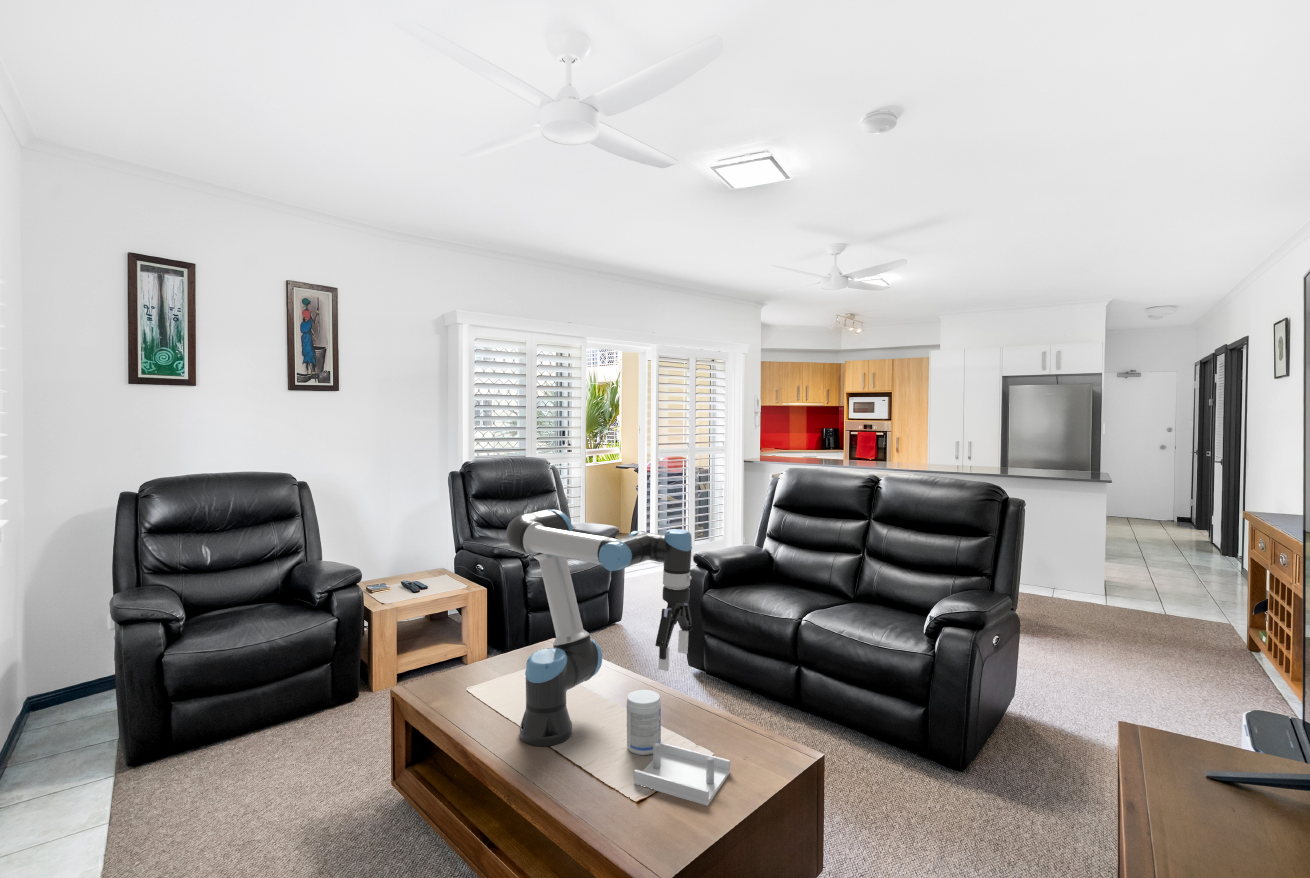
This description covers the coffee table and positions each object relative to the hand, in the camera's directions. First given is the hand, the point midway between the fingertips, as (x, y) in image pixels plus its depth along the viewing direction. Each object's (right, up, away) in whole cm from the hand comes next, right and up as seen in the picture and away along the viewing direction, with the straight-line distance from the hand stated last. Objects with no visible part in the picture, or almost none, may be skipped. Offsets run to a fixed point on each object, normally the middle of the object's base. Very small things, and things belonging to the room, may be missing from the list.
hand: (673, 661), depth 180 cm
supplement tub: (-8, -25, +2) cm, 26 cm away
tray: (+2, -26, -14) cm, 29 cm away
